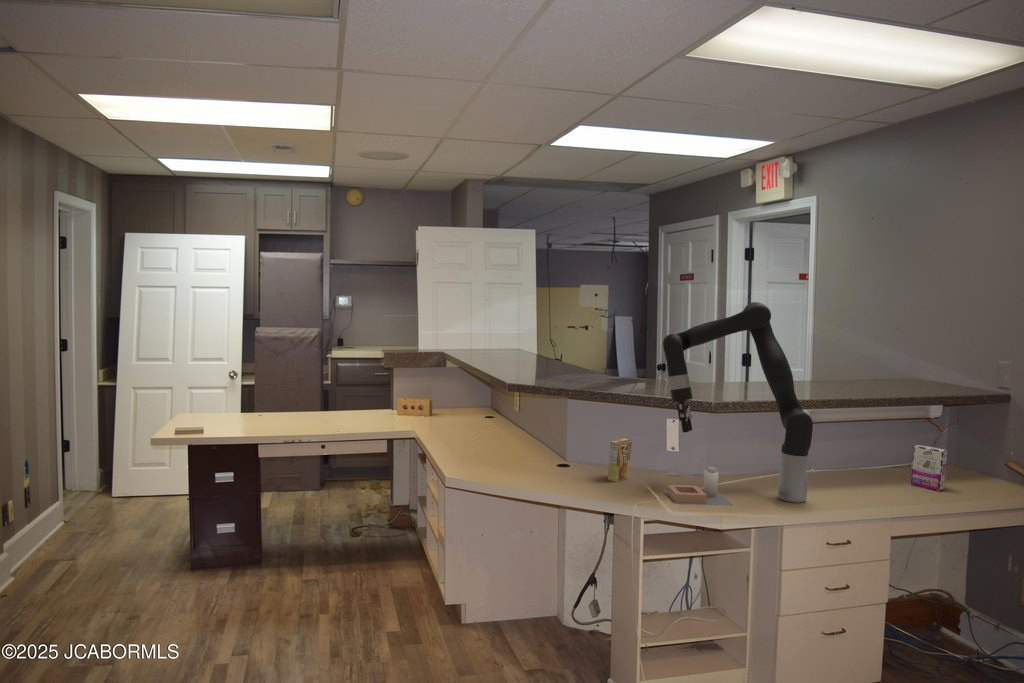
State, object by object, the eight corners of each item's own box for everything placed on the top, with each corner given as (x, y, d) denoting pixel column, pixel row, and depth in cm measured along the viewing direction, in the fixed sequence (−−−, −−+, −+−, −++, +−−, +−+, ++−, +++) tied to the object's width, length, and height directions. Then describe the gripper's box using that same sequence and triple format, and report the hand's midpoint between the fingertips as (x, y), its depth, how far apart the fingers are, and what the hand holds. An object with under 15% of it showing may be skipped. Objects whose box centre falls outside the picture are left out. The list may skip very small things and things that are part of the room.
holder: (717, 494, 276) (718, 483, 275) (733, 508, 260) (734, 496, 259) (662, 493, 274) (663, 482, 273) (675, 507, 258) (676, 495, 258)
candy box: (620, 476, 294) (623, 438, 293) (629, 478, 291) (632, 440, 290) (607, 479, 288) (609, 441, 286) (616, 482, 285) (619, 443, 284)
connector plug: (714, 492, 274) (716, 466, 273) (718, 496, 269) (721, 469, 268) (700, 492, 273) (702, 465, 272) (705, 496, 268) (707, 469, 267)
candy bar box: (944, 489, 299) (948, 449, 297) (939, 491, 295) (943, 451, 294) (914, 482, 307) (919, 443, 305) (909, 484, 304) (913, 445, 302)
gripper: (687, 386, 267) (695, 431, 265) (693, 386, 280) (700, 429, 279) (667, 389, 270) (674, 434, 268) (673, 389, 283) (680, 431, 281)
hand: (687, 431), depth 273 cm, fingers open, 8 cm apart
